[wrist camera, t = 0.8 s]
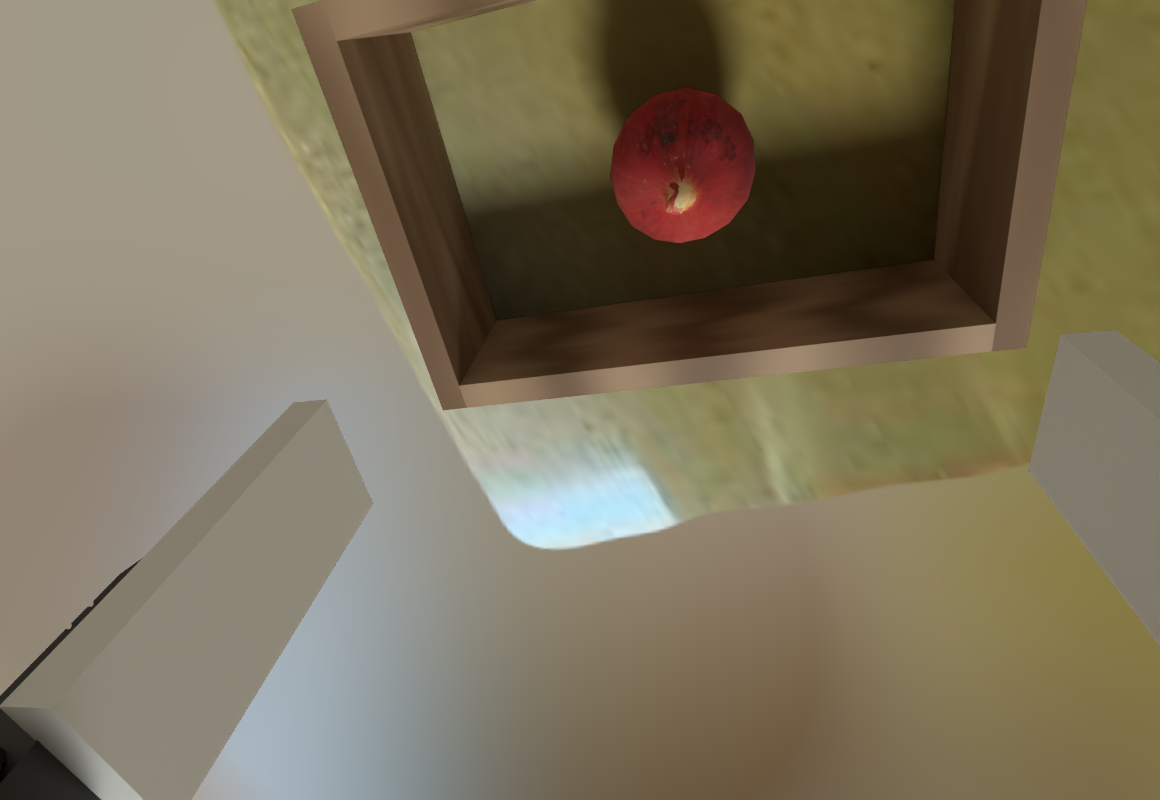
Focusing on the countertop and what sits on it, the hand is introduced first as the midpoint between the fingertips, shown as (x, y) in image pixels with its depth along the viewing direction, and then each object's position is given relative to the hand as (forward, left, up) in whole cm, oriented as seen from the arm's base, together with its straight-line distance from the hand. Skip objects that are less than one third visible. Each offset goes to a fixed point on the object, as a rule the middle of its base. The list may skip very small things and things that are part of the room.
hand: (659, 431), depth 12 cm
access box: (-1, -1, -21) cm, 21 cm away
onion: (-1, -1, -21) cm, 21 cm away
